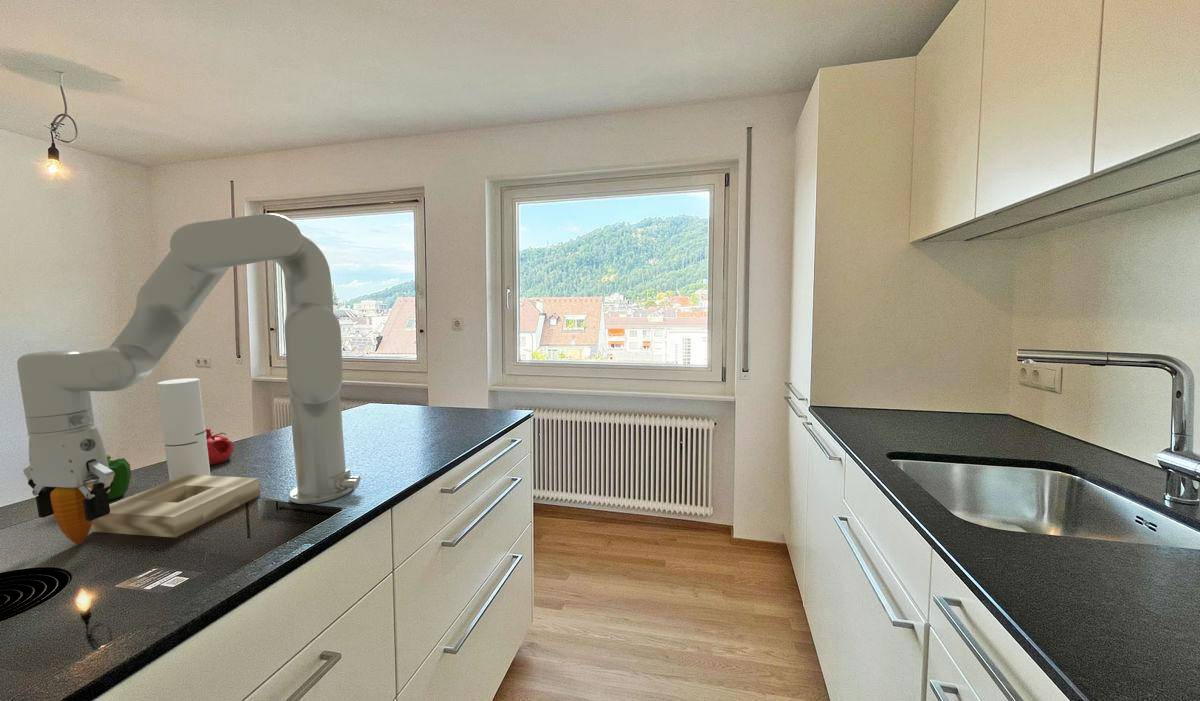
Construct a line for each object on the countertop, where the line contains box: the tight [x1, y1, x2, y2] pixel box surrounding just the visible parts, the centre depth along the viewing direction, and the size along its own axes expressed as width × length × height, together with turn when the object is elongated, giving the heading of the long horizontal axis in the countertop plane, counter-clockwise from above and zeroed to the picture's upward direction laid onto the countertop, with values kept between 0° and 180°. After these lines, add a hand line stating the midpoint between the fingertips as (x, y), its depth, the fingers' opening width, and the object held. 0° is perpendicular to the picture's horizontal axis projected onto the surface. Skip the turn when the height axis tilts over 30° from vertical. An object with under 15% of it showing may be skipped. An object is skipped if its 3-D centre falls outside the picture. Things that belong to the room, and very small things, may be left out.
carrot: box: [50, 481, 93, 546], centre depth 81 cm, size 5×5×15 cm
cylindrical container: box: [156, 377, 211, 482], centre depth 106 cm, size 7×7×25 cm
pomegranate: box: [205, 427, 235, 466], centre depth 122 cm, size 10×10×9 cm
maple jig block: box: [91, 475, 261, 538], centre depth 94 cm, size 18×18×4 cm
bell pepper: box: [84, 454, 132, 501], centre depth 100 cm, size 8×8×10 cm
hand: (75, 515), depth 81 cm, fingers open, 9 cm apart
